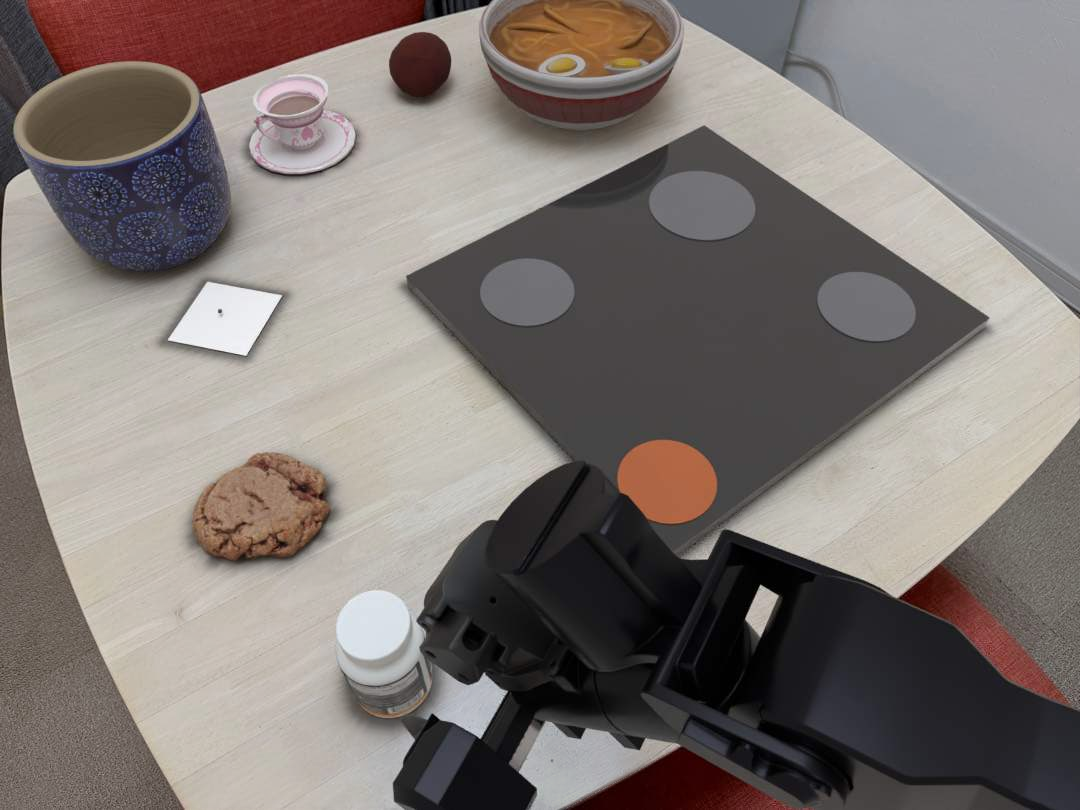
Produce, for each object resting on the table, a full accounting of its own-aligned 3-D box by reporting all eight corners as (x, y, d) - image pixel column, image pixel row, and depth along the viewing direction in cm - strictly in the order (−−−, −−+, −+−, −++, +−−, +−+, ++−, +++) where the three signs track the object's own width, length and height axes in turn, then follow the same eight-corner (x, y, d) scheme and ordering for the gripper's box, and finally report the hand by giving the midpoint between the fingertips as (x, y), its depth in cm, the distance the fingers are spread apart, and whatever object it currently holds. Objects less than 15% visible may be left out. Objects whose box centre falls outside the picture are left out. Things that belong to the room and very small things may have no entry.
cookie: (178, 506, 72) (165, 486, 70) (296, 442, 76) (287, 421, 73) (230, 596, 67) (219, 578, 65) (353, 523, 71) (346, 503, 69)
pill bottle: (365, 638, 65) (340, 575, 57) (441, 648, 65) (427, 586, 57) (343, 715, 62) (314, 660, 54) (424, 726, 61) (407, 673, 53)
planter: (219, 295, 87) (168, 170, 75) (54, 288, 87) (-23, 163, 76) (262, 186, 97) (223, 61, 85) (113, 181, 98) (54, 56, 86)
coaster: (246, 355, 82) (243, 350, 81) (167, 340, 83) (164, 334, 82) (282, 295, 86) (280, 289, 86) (207, 281, 88) (205, 275, 87)
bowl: (631, 182, 97) (639, 101, 89) (448, 129, 103) (440, 49, 95) (700, 76, 110) (712, -3, 102) (533, 34, 116) (533, -44, 108)
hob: (983, 328, 84) (990, 316, 82) (670, 561, 69) (672, 551, 67) (702, 136, 102) (704, 123, 101) (407, 286, 87) (405, 274, 86)
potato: (459, 70, 111) (455, 16, 105) (447, 109, 106) (441, 55, 100) (401, 66, 111) (394, 13, 106) (386, 105, 106) (377, 51, 101)
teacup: (314, 100, 107) (303, 52, 102) (377, 142, 102) (369, 94, 97) (229, 144, 102) (213, 96, 97) (291, 191, 96) (278, 142, 92)
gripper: (623, 399, 42) (445, 443, 54) (402, 758, 32) (244, 714, 44) (750, 550, 46) (558, 559, 58) (589, 912, 36) (397, 833, 48)
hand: (451, 652), depth 52 cm, fingers open, 9 cm apart
